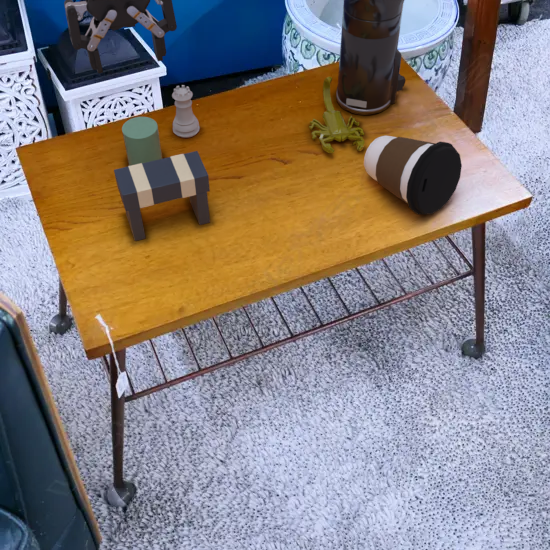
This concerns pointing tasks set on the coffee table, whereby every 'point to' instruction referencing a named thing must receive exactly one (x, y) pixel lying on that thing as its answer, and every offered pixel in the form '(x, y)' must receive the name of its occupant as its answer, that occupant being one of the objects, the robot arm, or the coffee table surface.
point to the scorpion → (335, 124)
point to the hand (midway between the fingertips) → (129, 64)
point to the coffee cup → (415, 171)
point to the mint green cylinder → (141, 140)
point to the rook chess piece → (184, 113)
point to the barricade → (163, 187)
